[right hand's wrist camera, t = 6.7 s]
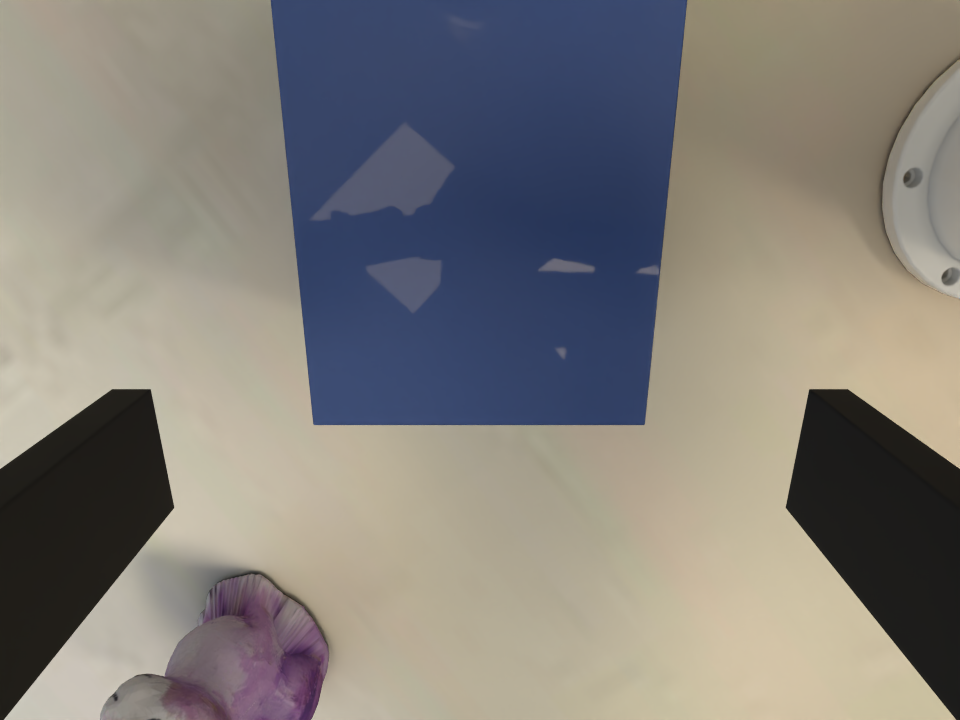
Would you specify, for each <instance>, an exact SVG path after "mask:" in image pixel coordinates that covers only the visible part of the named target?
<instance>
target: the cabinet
mask: <svg viewBox="0 0 960 720" xmlns="http://www.w3.org/2000/svg"><path fill="white" fill-rule="evenodd" d="M686 7H687V0H271V8H272V18H273V28H274V38H275V48H276V58H277V68H278V78H279V87H280V97H281V107H282V117H283V127H284V137H285V147H286V157H287V167H288V177H289V187H290V197H291V206H292V216H293V226H294V236H295V246H296V256H297V266H298V276H299V286H300V296H301V306H302V316H303V325H304V335H305V345H306V355H307V365H308V375H309V385H310V395H311V405H312V415H313V424H314V425H644V424H645V417H646V407H647V397H648V387H649V377H650V367H651V357H652V347H653V337H654V327H655V317H656V307H657V297H658V287H659V277H660V267H661V257H662V247H663V237H664V227H665V217H666V207H667V197H668V187H669V177H670V167H671V157H672V147H673V137H674V127H675V117H676V107H677V97H678V87H679V77H680V67H681V57H682V47H683V37H684V27H685V17H686Z"/></svg>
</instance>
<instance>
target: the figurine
mask: <svg viewBox="0 0 960 720" xmlns="http://www.w3.org/2000/svg"><path fill="white" fill-rule="evenodd" d="M328 660H329V651H328V647H327V644H326V642H325V640H324V638H323V637H322V635H321V633H320V631H319V629H318V627H317V625H316V624H315V622H314V620H313V619H312V617H311V616H310V615H309V613H308V612H307V611H306V610H305V608H304V606H302V605H300V604H298V603H297V602H296V601H294V600H293V599H291V598H289V597H288V596H286V595H283V593H282V592H281V591H279V590H278V589H277V588H276V586H274V585H273V584H272V582H271V581H269V580H267V579H266V578H265V577H263V576H262V575H259V574H258V575H255V574H250V575H249V574H247V575H246V576H245V575H244V576H239V577H235V578H231V579H227V580H223V581H222V582H218V584H216V585H214V586H213V588H212V589H211V590H210V591H209V593H208V596H207V600H206V609H205V610H204V611H203V612H202V613H201V614H200V616H199V619H198V627H196V628H195V629H194V630H192V631H191V632H190V633H188V634H187V635H186V636H185V637H184V638H183V639H182V640H181V641H180V642H179V643H178V645H177V646H176V648H175V650H174V652H173V654H172V656H171V658H170V661H169V663H168V666H167V669H166V673H165V677H164V676H159V675H154V674H141V675H136V676H135V677H133V678H131V679H129V680H127V681H126V682H124V683H123V684H121V685H120V687H119V688H118V689H117V690H116V692H115V693H114V694H113V695H112V696H111V697H109V699H108V700H107V701H106V703H105V704H104V706H103V708H102V711H101V716H100V720H311V719H312V717H313V715H314V712H315V710H316V707H317V705H318V702H319V698H320V693H321V688H322V683H323V680H324V678H325V675H326V672H327V667H328Z"/></svg>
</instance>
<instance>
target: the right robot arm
mask: <svg viewBox="0 0 960 720" xmlns="http://www.w3.org/2000/svg"><path fill="white" fill-rule="evenodd" d="M173 509H174V504H173V499H172V494H171V489H170V484H169V479H168V474H167V469H166V464H165V459H164V454H163V449H162V444H161V439H160V434H159V429H158V424H157V419H156V414H155V409H154V404H153V399H152V394H151V389H112V390H111V391H109V392H108V393H106V394H105V395H104V396H102V397H101V398H99V399H98V400H97V401H95V402H94V403H92V404H91V405H90V406H88V407H87V408H85V409H84V410H82V411H81V412H80V413H78V414H77V415H75V416H74V417H73V418H71V419H70V420H68V421H67V422H66V423H64V424H63V425H61V426H60V427H59V428H57V429H56V430H54V431H53V432H52V433H50V434H49V435H47V436H46V437H45V438H43V439H42V440H40V441H39V442H38V443H36V444H35V445H33V446H32V447H31V448H29V449H28V450H26V451H25V452H24V453H22V454H21V455H19V456H18V457H16V458H15V459H14V460H12V461H11V462H9V463H8V464H7V465H5V466H4V467H2V468H1V469H0V720H4V719H5V717H6V716H7V715H8V714H9V712H10V711H11V710H12V709H13V707H14V706H15V705H16V704H17V703H18V701H19V700H20V699H21V698H22V696H23V695H24V694H25V693H26V691H27V690H28V689H29V688H30V686H31V685H32V684H33V683H34V681H35V680H36V679H37V678H38V676H39V675H40V674H41V673H42V671H43V670H44V669H45V668H46V666H47V665H48V664H49V663H50V661H51V660H52V659H53V658H54V657H55V655H56V654H57V653H58V652H59V650H60V649H61V648H62V647H63V645H64V644H65V643H66V642H67V640H68V639H69V638H70V637H71V635H72V634H73V633H74V632H75V630H76V629H77V628H78V627H79V625H80V624H81V623H82V622H83V620H84V619H85V618H86V617H87V615H88V614H89V613H90V612H91V611H92V609H93V608H94V607H95V606H96V604H97V603H98V602H99V601H100V599H101V598H102V597H103V596H104V594H105V593H106V592H107V591H108V589H109V588H110V587H111V586H112V584H113V583H114V582H115V581H116V579H117V578H118V577H119V576H120V574H121V573H122V572H123V571H124V569H125V568H126V567H127V566H128V565H129V563H130V562H131V561H132V560H133V558H134V557H135V556H136V555H137V553H138V552H139V551H140V550H141V548H142V547H143V546H144V545H145V543H146V542H147V541H148V540H149V538H150V537H151V536H152V535H153V533H154V532H155V531H156V530H157V528H158V527H159V526H160V525H161V523H162V522H163V521H164V520H165V518H166V517H167V516H168V515H169V514H170V512H171V511H172V510H173ZM786 509H787V510H788V511H789V512H790V514H791V515H792V516H793V517H794V518H795V520H796V521H797V522H798V523H799V525H800V526H801V527H802V528H803V530H804V531H805V532H806V533H807V535H808V536H809V537H810V538H811V540H812V541H813V542H814V543H815V545H816V546H817V547H818V548H819V550H820V551H821V552H822V553H823V555H824V556H825V557H826V558H827V560H828V561H829V562H830V563H831V565H832V566H833V567H834V568H835V569H836V571H837V572H838V573H839V574H840V576H841V577H842V578H843V579H844V581H845V582H846V583H847V584H848V586H849V587H850V588H851V589H852V591H853V592H854V593H855V594H856V596H857V597H858V598H859V599H860V601H861V602H862V603H863V604H864V606H865V607H866V608H867V609H868V611H869V612H870V613H871V614H872V615H873V617H874V618H875V619H876V620H877V622H878V623H879V624H880V625H881V627H882V628H883V629H884V630H885V632H886V633H887V634H888V635H889V637H890V638H891V639H892V640H893V642H894V643H895V644H896V645H897V647H898V648H899V649H900V650H901V652H902V653H903V654H904V655H905V657H906V658H907V659H908V660H909V661H910V663H911V664H912V665H913V666H914V668H915V669H916V670H917V671H918V673H919V674H920V675H921V676H922V678H923V679H924V680H925V681H926V683H927V684H928V685H929V686H930V688H931V689H932V690H933V691H934V693H935V694H936V695H937V696H938V698H939V699H940V700H941V701H942V703H943V704H944V705H945V706H946V707H947V709H948V710H949V711H950V712H951V714H952V715H953V716H954V717H955V719H956V720H960V469H959V468H958V467H956V466H955V465H953V464H952V463H951V462H949V461H948V460H946V459H945V458H944V457H942V456H941V455H939V454H938V453H936V452H935V451H934V450H932V449H931V448H929V447H928V446H927V445H925V444H924V443H922V442H921V441H920V440H918V439H917V438H915V437H914V436H913V435H911V434H910V433H908V432H907V431H906V430H904V429H903V428H901V427H900V426H899V425H897V424H896V423H894V422H893V421H892V420H890V419H889V418H887V417H886V416H885V415H883V414H882V413H880V412H879V411H877V410H876V409H875V408H873V407H872V406H870V405H869V404H868V403H866V402H865V401H863V400H862V399H861V398H859V397H858V396H856V395H855V394H854V393H852V392H851V391H849V390H848V389H809V394H808V399H807V404H806V409H805V414H804V419H803V424H802V429H801V434H800V439H799V444H798V449H797V454H796V459H795V464H794V469H793V474H792V479H791V484H790V489H789V494H788V499H787V504H786Z"/></svg>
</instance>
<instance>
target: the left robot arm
mask: <svg viewBox="0 0 960 720" xmlns="http://www.w3.org/2000/svg"><path fill="white" fill-rule="evenodd" d="M904 175H905V178H904ZM903 178H904V179H903ZM882 211H883V217H884V223H885V229H886V233H887V236H888V238H889V241H890V243H891V246H892V248H893V250H894V253H895V254H896V256H897V257H898V258H899V260H900V261H901V263H902V264H903V265H904V267H905V268H906V269H907V270H908V271H909V272H910V273H911V274H912V275H913V276H915V277H916V278H917V279H918V280H919V281H920V282H922V283H923V284H925V285H927V286H928V287H930V288H932V289H934V290H936V291H938V292H940V293H942V294H945V295H949V296H952V297H955V298H958V299H960V59H959V60H958V61H956V62H955V63H954V64H953V65H952V66H951V67H950V68H949V69H948V70H946V71H945V72H944V73H943V74H942V75H941V76H940V77H939V78H938V79H936V80H935V81H934V82H933V84H932V85H931V86H930V87H929V89H928V90H927V91H926V92H925V93H924V95H923V96H922V97H921V98H920V99H919V101H918V102H917V103H916V104H915V106H914V107H913V109H912V111H911V112H910V114H909V116H908V117H907V119H906V121H905V122H904V124H903V126H902V127H901V129H900V131H899V133H898V136H897V138H896V140H895V143H894V145H893V148H892V150H891V153H890V155H889V158H888V163H887V167H886V172H885V176H884V181H883V196H882Z"/></svg>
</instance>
